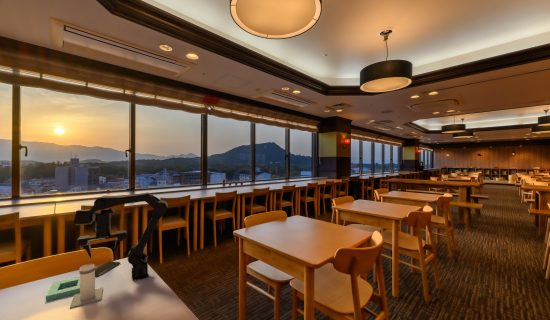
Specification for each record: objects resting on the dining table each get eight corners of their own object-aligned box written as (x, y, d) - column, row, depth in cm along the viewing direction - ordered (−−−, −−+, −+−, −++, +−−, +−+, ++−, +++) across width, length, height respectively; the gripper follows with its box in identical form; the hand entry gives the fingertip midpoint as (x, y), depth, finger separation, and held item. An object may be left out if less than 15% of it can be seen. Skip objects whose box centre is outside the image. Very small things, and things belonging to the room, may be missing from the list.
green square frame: (87, 279, 114) (87, 274, 114) (84, 291, 104) (84, 287, 104) (53, 286, 107) (53, 282, 107) (45, 301, 97) (45, 296, 97)
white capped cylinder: (91, 292, 102) (90, 262, 102) (97, 294, 100) (97, 265, 100) (77, 298, 98) (76, 267, 98) (84, 301, 96) (83, 270, 95)
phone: (121, 262, 131) (97, 275, 116) (121, 264, 131) (97, 278, 116) (108, 261, 132) (83, 274, 117) (108, 263, 132) (83, 276, 117)
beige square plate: (102, 288, 106) (102, 287, 106) (101, 300, 98) (101, 298, 98) (74, 295, 100) (74, 294, 100) (69, 308, 92) (69, 307, 92)
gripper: (126, 216, 122) (126, 245, 122) (80, 221, 112) (80, 253, 112) (126, 221, 113) (126, 253, 113) (76, 227, 103) (76, 262, 103)
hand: (103, 255), depth 111 cm, fingers open, 9 cm apart
